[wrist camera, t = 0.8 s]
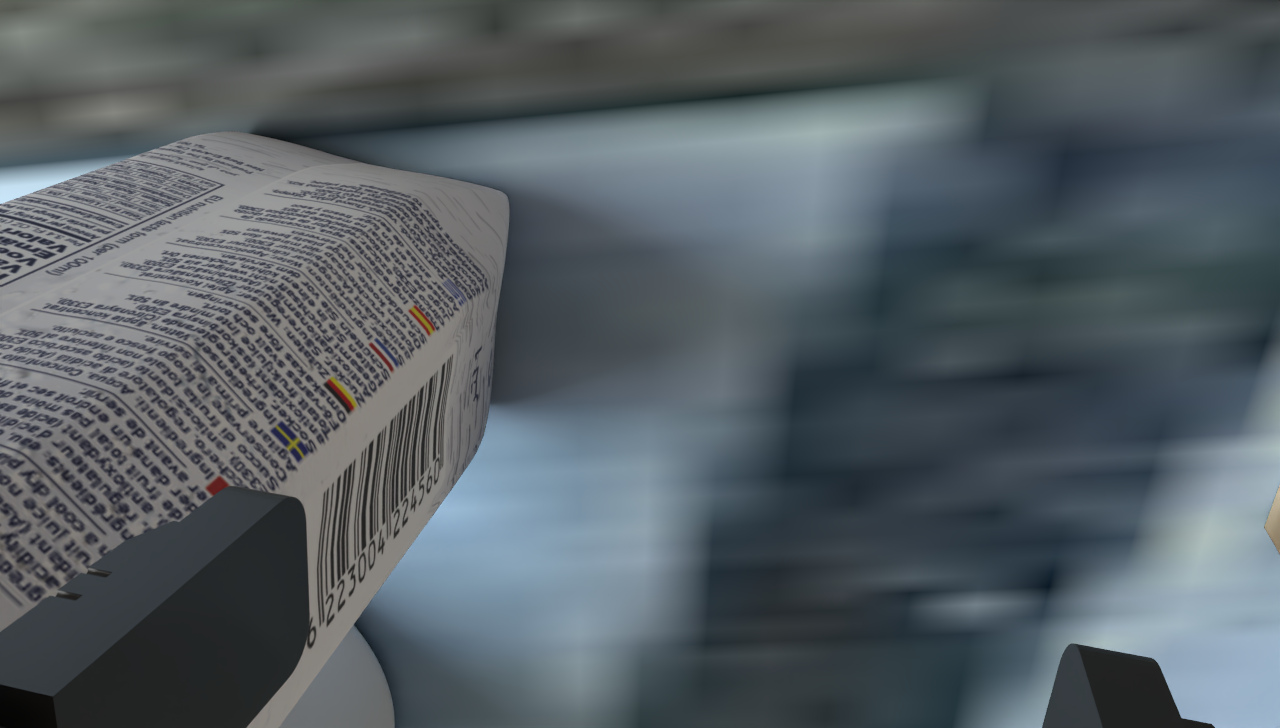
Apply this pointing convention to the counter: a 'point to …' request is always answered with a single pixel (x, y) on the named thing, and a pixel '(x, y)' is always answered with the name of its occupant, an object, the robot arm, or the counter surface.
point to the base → (1274, 522)
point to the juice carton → (242, 360)
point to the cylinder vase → (346, 691)
